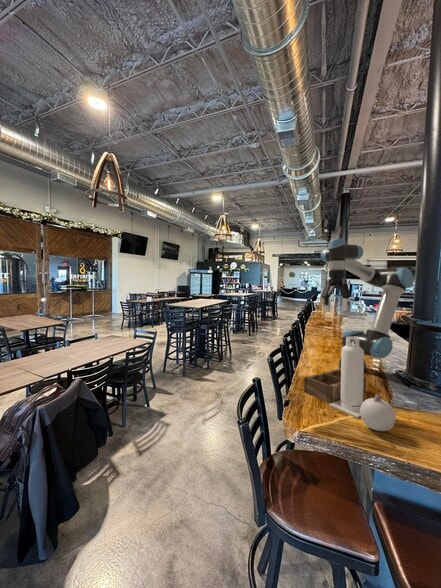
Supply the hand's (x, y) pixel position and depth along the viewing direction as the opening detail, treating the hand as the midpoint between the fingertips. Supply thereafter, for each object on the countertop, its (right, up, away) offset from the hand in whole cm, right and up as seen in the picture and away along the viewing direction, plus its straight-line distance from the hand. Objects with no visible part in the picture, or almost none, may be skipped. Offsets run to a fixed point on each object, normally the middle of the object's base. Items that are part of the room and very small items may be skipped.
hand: (336, 311), depth 134 cm
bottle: (-6, -37, -28) cm, 47 cm away
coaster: (-6, -37, -28) cm, 47 cm away
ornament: (-5, -38, -44) cm, 58 cm away
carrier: (-6, -37, -12) cm, 39 cm away
